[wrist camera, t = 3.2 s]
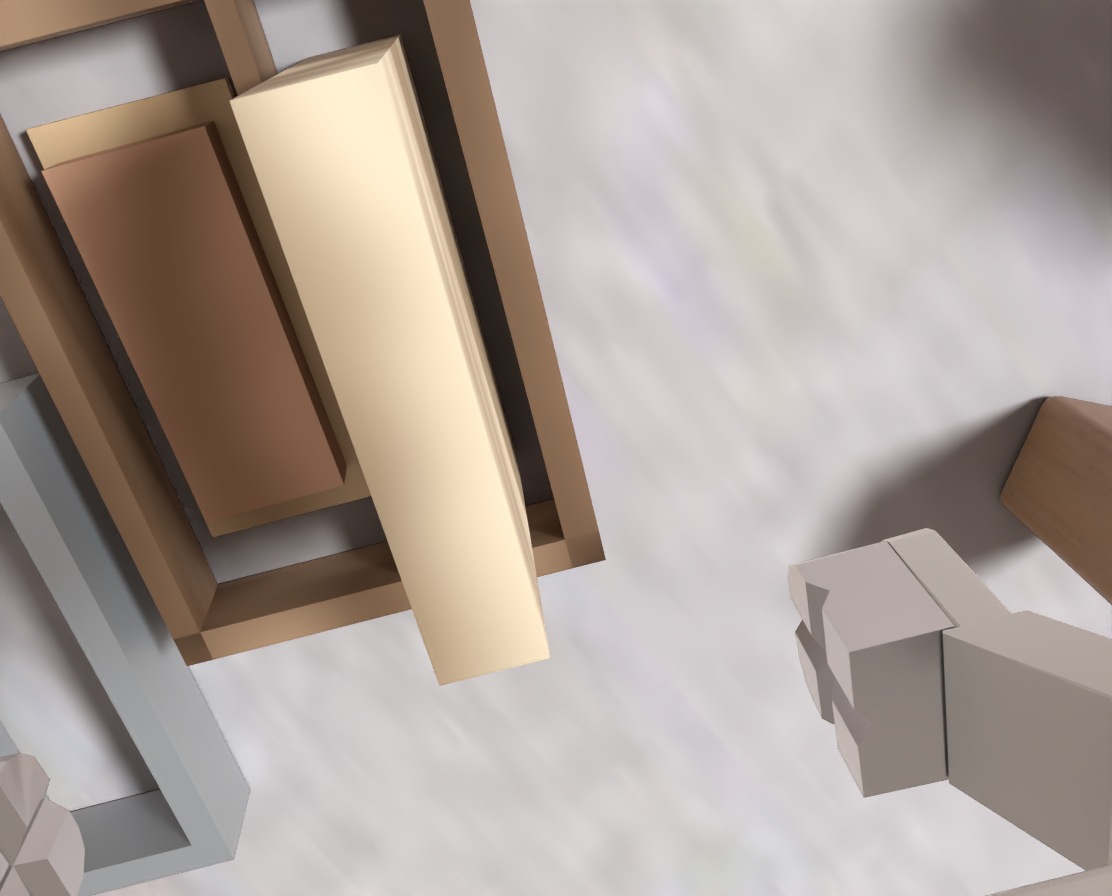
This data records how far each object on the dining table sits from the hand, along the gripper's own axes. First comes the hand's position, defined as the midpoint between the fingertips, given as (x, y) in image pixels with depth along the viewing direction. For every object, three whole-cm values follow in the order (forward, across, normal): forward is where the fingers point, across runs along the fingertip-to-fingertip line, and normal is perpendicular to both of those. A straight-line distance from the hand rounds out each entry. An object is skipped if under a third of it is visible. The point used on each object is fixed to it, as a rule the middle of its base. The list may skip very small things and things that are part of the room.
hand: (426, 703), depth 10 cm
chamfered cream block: (+18, 0, 0) cm, 18 cm away
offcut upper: (+18, +6, 0) cm, 19 cm away
